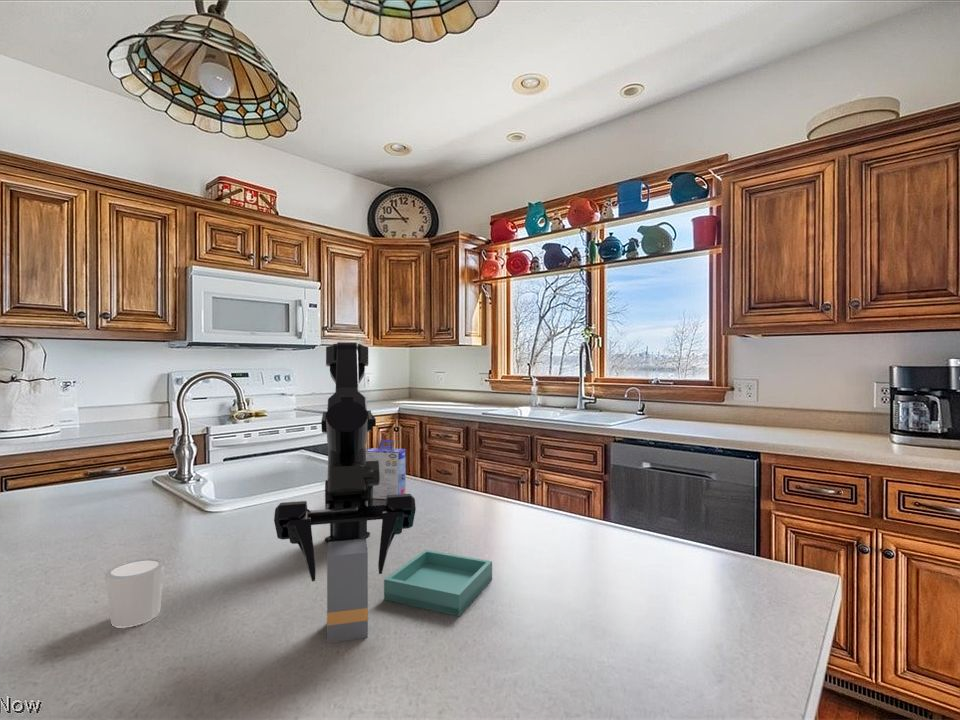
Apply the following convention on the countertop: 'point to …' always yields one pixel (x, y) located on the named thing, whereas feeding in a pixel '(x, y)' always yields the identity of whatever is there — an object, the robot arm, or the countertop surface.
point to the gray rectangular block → (347, 590)
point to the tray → (439, 582)
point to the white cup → (135, 591)
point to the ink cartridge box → (389, 469)
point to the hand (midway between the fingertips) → (347, 576)
